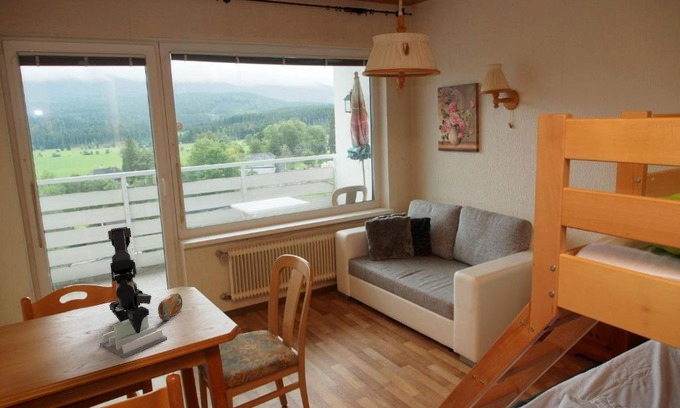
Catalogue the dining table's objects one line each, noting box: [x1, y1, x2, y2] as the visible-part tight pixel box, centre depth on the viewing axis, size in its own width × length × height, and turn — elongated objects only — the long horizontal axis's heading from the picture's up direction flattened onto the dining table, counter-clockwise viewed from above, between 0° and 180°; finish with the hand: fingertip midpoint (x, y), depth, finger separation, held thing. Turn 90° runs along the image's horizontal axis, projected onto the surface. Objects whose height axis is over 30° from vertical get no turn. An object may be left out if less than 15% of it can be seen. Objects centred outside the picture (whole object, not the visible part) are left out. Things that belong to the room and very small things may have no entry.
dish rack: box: [99, 325, 168, 359], centre depth 179 cm, size 18×17×4 cm
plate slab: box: [112, 316, 150, 341], centre depth 178 cm, size 2×12×8 cm, turn 141°
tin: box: [157, 293, 183, 321], centre depth 201 cm, size 15×3×8 cm, turn 168°
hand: (132, 330), depth 178 cm, fingers open, 9 cm apart
